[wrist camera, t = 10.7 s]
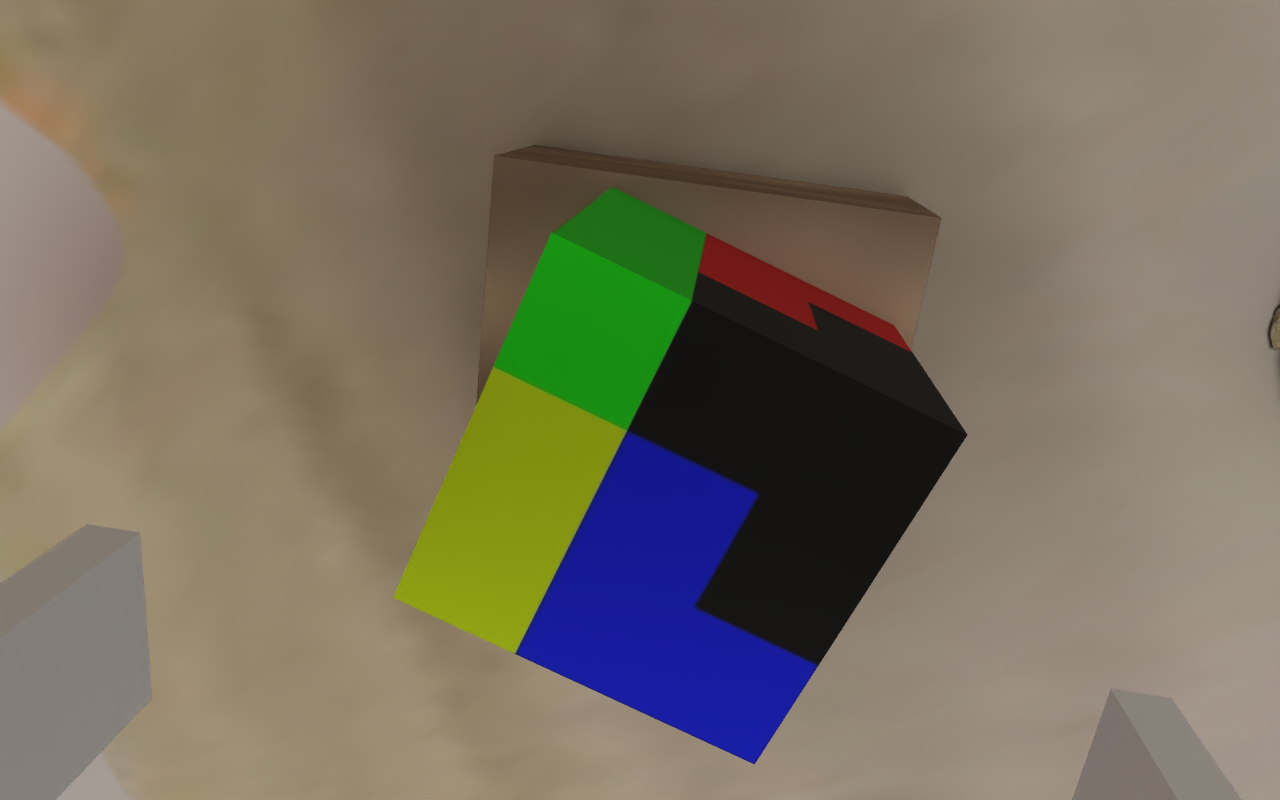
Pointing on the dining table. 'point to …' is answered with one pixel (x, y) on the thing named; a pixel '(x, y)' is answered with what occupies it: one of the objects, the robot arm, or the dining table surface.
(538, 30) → the dining table surface
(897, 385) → the puzzle toy
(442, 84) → the dining table surface
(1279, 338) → the bread roll
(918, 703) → the dining table surface
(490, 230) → the walnut plinth
